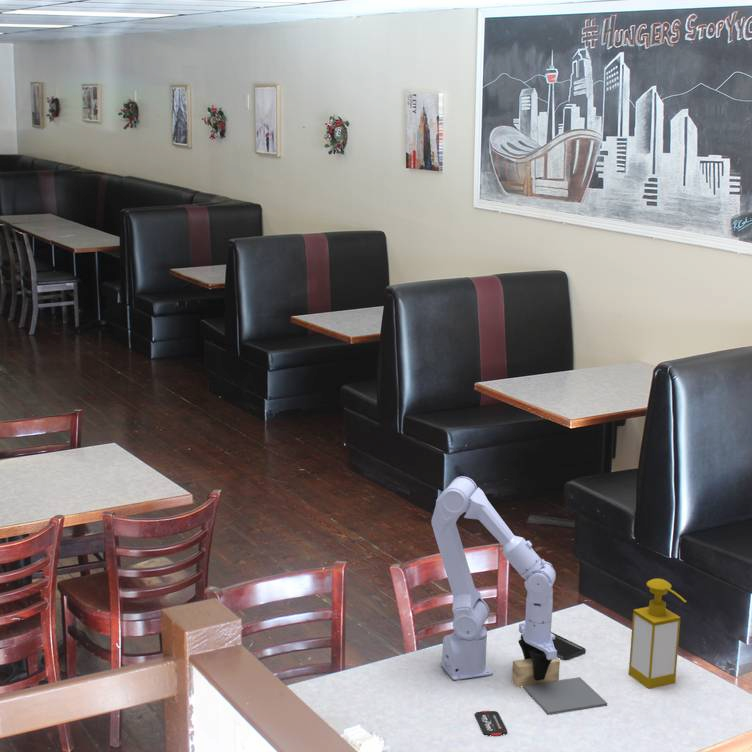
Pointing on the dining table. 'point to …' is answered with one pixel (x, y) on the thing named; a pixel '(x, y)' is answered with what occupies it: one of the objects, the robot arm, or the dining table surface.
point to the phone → (566, 648)
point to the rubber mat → (564, 695)
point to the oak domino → (525, 673)
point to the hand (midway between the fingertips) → (535, 675)
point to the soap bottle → (655, 639)
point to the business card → (491, 723)
